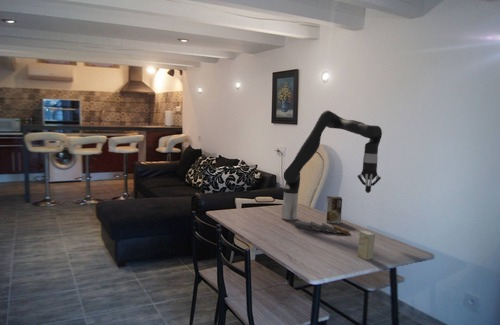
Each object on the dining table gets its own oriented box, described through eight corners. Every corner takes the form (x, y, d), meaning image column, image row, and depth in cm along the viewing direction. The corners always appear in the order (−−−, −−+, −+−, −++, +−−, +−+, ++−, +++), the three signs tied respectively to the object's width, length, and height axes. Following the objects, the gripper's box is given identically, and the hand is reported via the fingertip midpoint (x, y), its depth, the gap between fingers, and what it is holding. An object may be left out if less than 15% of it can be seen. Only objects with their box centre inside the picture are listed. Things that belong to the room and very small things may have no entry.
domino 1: (309, 228, 225) (294, 225, 230) (312, 226, 230) (297, 223, 234) (309, 225, 225) (295, 222, 229) (312, 223, 230) (298, 220, 234)
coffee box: (339, 221, 249) (341, 196, 248) (340, 223, 243) (342, 198, 241) (325, 220, 250) (326, 195, 249) (326, 222, 244) (327, 197, 242)
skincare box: (356, 255, 184) (358, 231, 183) (364, 254, 186) (366, 230, 185) (366, 260, 179) (368, 234, 177) (373, 259, 181) (375, 233, 179)
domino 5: (348, 235, 219) (333, 229, 220) (347, 232, 224) (332, 227, 225) (349, 232, 218) (334, 226, 219) (348, 229, 223) (333, 224, 224)
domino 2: (312, 231, 225) (296, 229, 228) (313, 229, 230) (298, 227, 233) (312, 228, 225) (297, 226, 228) (313, 226, 230) (299, 224, 233)
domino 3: (325, 232, 222) (310, 226, 222) (324, 229, 227) (310, 224, 227) (326, 229, 222) (312, 223, 222) (325, 226, 227) (311, 221, 227)
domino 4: (336, 234, 220) (321, 227, 221) (335, 231, 225) (321, 225, 226) (337, 231, 219) (322, 225, 221) (336, 228, 224) (322, 222, 225)
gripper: (383, 162, 215) (380, 192, 217) (358, 160, 219) (356, 190, 221) (382, 163, 208) (380, 194, 210) (357, 161, 212) (354, 192, 214)
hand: (367, 192), depth 215 cm, fingers closed
